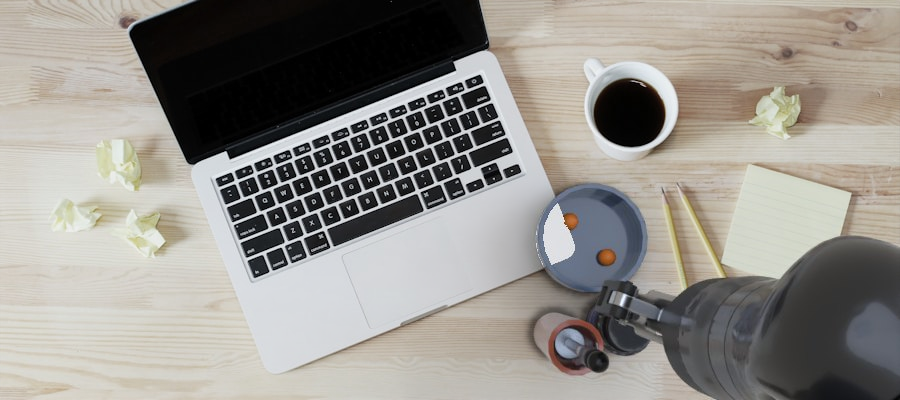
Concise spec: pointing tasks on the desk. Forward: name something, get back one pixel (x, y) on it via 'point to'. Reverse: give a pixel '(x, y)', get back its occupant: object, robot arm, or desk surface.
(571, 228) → the bead
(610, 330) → the pill bottle
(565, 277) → the bowl
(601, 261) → the bead
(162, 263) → the desk surface
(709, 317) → the robot arm
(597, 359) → the ladle
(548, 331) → the crock
